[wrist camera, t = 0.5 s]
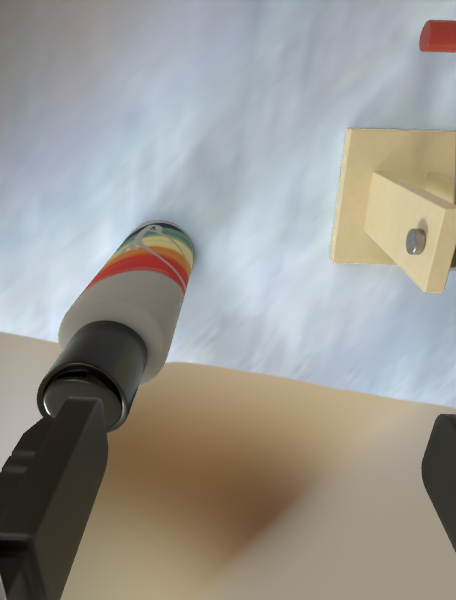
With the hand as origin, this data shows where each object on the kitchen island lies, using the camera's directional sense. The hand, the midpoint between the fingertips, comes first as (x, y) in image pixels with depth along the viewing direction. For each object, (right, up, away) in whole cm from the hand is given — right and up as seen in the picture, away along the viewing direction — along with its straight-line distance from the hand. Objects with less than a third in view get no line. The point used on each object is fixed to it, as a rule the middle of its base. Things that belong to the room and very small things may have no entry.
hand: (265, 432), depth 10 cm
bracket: (+12, +11, +23) cm, 28 cm away
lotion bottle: (-7, +7, +25) cm, 27 cm away
